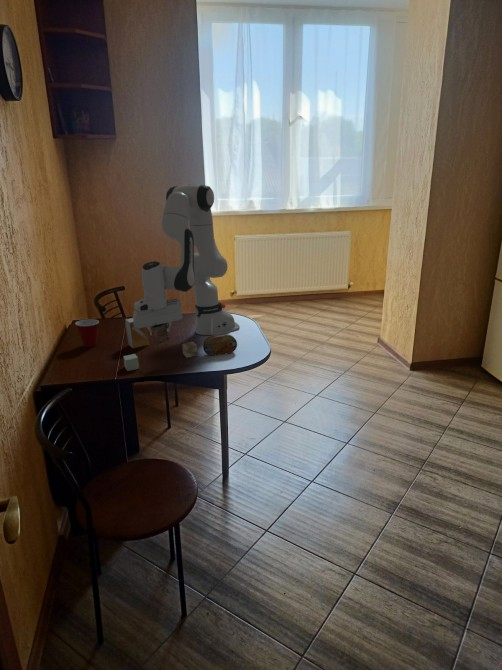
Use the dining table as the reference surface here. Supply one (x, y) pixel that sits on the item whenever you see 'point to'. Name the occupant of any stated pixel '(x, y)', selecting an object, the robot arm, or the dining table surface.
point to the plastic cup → (88, 331)
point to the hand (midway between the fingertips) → (160, 333)
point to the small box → (136, 334)
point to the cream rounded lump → (189, 349)
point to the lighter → (160, 333)
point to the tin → (219, 345)
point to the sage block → (131, 362)
